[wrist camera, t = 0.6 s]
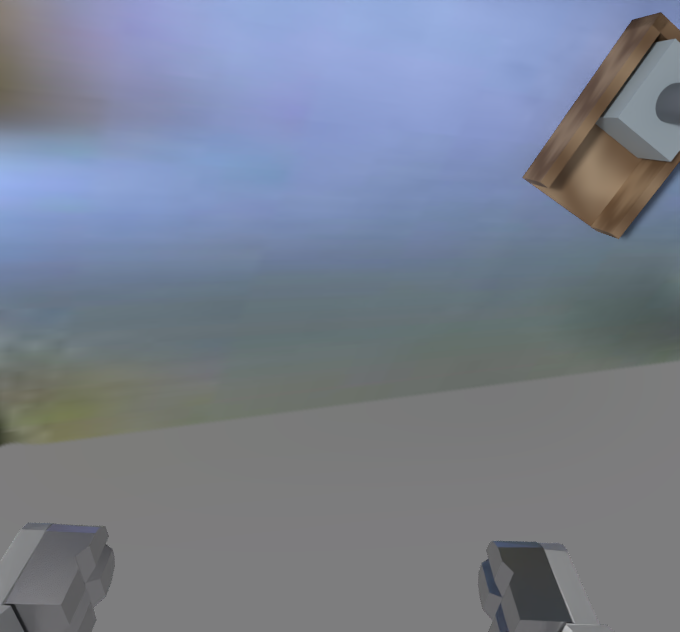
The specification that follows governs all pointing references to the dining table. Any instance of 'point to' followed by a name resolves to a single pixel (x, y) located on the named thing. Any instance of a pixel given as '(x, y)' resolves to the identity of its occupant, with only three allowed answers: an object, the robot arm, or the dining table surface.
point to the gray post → (648, 105)
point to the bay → (603, 144)
